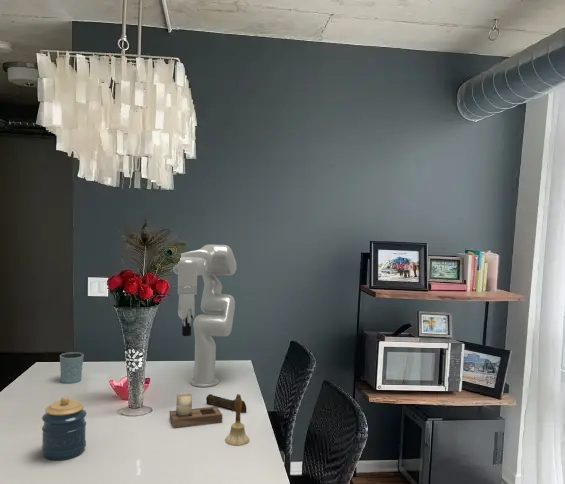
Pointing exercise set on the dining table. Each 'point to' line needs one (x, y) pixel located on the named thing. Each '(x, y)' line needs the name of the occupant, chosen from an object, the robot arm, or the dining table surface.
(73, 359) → the grey embossed cup
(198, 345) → the robot arm
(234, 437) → the hand bell
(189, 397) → the oak peg
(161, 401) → the dining table surface
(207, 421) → the walnut board
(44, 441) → the canister
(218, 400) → the hand tool
